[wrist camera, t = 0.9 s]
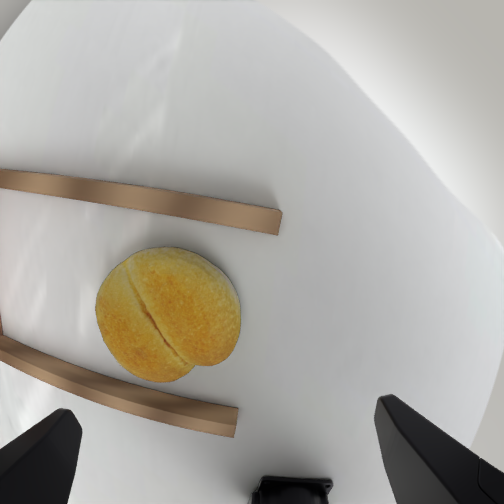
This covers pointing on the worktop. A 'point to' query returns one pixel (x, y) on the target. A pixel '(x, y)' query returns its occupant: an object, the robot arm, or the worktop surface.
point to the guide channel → (105, 387)
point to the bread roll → (167, 313)
